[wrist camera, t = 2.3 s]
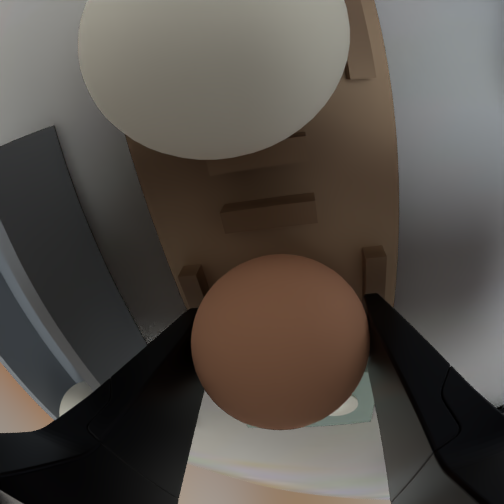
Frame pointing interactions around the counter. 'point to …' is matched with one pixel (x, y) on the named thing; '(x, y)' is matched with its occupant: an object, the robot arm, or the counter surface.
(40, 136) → the trough
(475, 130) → the counter surface
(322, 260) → the rack
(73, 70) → the counter surface
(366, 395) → the card
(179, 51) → the ball ivory rack
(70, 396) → the ball ivory trough
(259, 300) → the ball terracotta
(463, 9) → the counter surface
